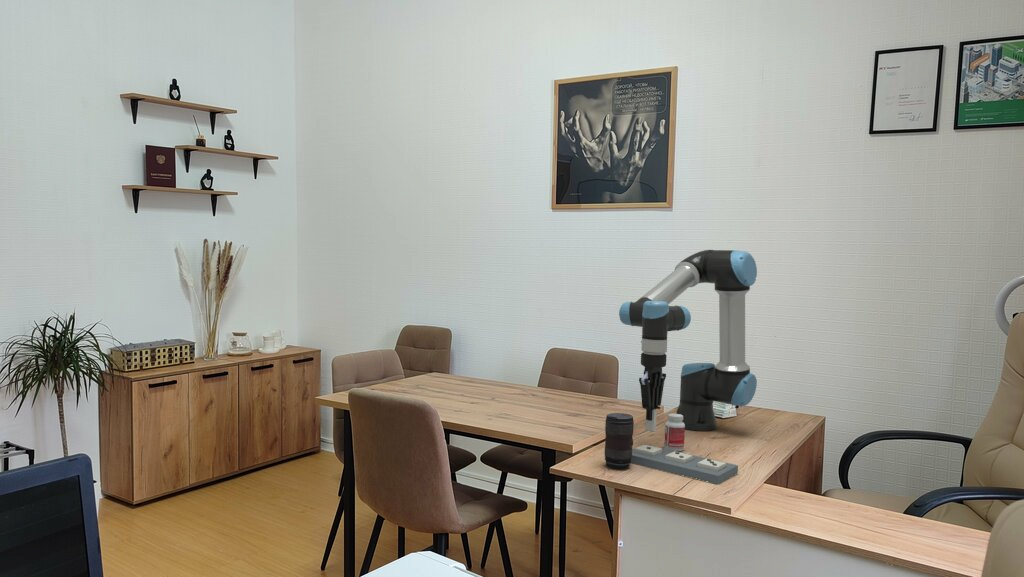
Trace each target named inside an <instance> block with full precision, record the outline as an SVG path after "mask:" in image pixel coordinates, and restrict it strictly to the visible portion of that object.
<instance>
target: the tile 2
mask: <svg viewBox="0 0 1024 577" xmlns="http://www.w3.org/2000/svg"><path fill="white" fill-rule="evenodd" d="M680 452H681V451H677V452H675V451H674V452H672V453H670V454H667V455H665V459H667V460H671V461H675V462H679V463H684V464H685V463H687V462H690V461H692V460H693V454H690V455H688V454H689V453H686V454H684V453H685V452H681V453H680Z"/></svg>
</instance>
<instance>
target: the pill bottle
mask: <svg viewBox="0 0 1024 577" xmlns="http://www.w3.org/2000/svg"><path fill="white" fill-rule="evenodd" d="M682 420H683V415H680V414H676V413H669V414H668V415H667V421H665V424H664V443H663V444H664V445H663V448H664V449H668V450H672V451H677V452H682V451H684V450H685V449H684V448H685V434H686V432H685V431H686V429H685V424H684V423H683V422H682Z"/></svg>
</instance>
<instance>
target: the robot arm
mask: <svg viewBox="0 0 1024 577" xmlns="http://www.w3.org/2000/svg"><path fill="white" fill-rule="evenodd" d="M757 269H758V268H757V264H756V260H755V258H754V256H753V255H752V254H751V253H750V252H747V251H743V250H738V249H737V250H736V249H734V250H733V249H729V250H728V249H704V250H701V251H697V252H696V253H693V254H691V255H689V256H687V257H685V258H684V259H682V260H681V261H680V262H679V263H677V264H676V266H674V270H673V271H672V272H671V273H670V274H668V275H667V276H666V277H665V278H664V279H662V280H661V281H659V283H657V284H655V286H653V287H652V288H650V290H649V291H647V292H646V293H645V294H644V295H642V296H641V297H640V298H638V299H637V300H636V301H634V302H633V301H624V302H623V303H622V304H621V305H620V308H619V312H618V316H619V320H620V322H621V323H622V324H623V325H626V326H631V327H638V328H641V334H642V335H641V341H640V343H641V351H642V352H641V353H640V365H641V366H643V367H644V370H643V376H642V377H639V378H638V382H639V386H640V395H641V407H642V409H643V410H645V431H649V432H656V430H657V413H658V412H657V411H658V410H660V409H661V405H662V398H663V394H664V387H665V386H664V385H665V380H666V377H667V374H666V373H663V368H664V367H666V366H667V354H666V353H667V352H668V332H673V331H681V330H684V329H686V328H688V327H689V326H690V323H691V320H692V315H691V312H690V311H689V309H688V308H687V307H685V306H683V305H670V304H671V303H672V302H673V301H675V299H677V298H678V297H679V296H680V295H681V294H683V293H684V292H685V291H686V290H687V289H689V288H693V287H696V286H697V285H699V284H704V283H706V284H714V291H715V292H716V293H717V294H718V295H719V296H718V299H719V300H718V308H719V311H718V312H719V313H718V314H719V315H718V316H719V317H718V318H719V319H718V320H719V324H718V325H719V329H718V330H719V362H718V363H716V364H715V363H712V362H693V363H686V364H684V365H682V367H681V371H680V372H681V373H680V388H679V390H680V392H679V403H678V404H679V405H678V406H677V408H676V412H675V414H680V415H683V420H682V422H683V423H684V424H685V430H690V431H697V432H698V431H699V432H706V431H707V432H709V431H713V430H716V429H717V418H716V416H715V410H714V407H713V402H716V403H722V404H725V405H726V404H727V405H731V406H737V407H745V406H747V405H748V404H750V403H751V402H752V400H753V398H754V396H755V393H756V390H757V384H758V380H757V379H758V378H757V376H756V375H755V374H753V372H751V368H750V365H749V364H747V362H746V295H747V293H748V292H749V291H750V290H751V286H753V285H754V284H755V283H756V281H757V279H756V278H757V275H758V270H757Z"/></svg>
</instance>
